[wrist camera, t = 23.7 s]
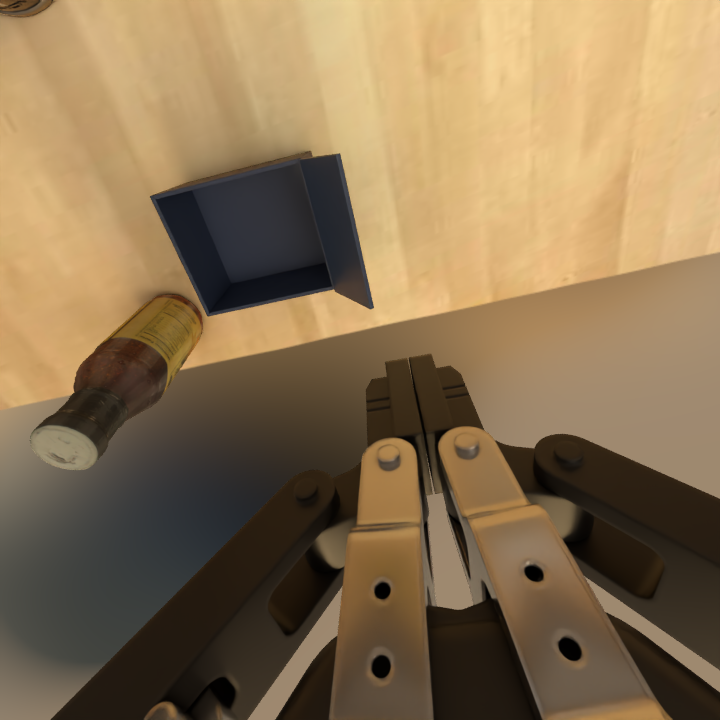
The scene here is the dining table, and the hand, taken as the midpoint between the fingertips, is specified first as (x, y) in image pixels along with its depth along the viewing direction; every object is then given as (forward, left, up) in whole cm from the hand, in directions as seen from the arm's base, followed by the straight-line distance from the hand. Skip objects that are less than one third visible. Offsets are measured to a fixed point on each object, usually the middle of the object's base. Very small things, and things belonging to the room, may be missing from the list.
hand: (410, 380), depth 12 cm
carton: (-1, -10, -27) cm, 29 cm away
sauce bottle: (+6, -23, -28) cm, 36 cm away
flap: (-1, -3, -17) cm, 17 cm away
